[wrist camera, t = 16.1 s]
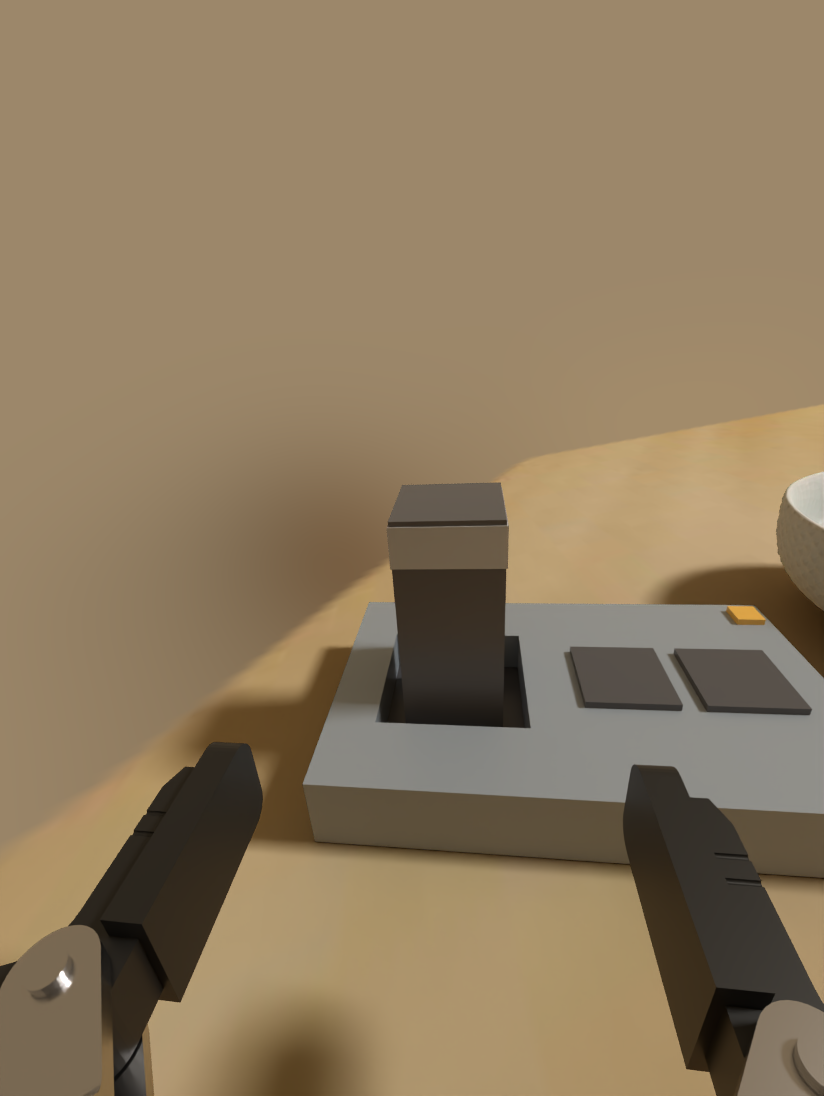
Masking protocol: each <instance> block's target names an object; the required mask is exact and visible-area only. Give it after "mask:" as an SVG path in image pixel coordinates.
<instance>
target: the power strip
mask: <svg viewBox="0 0 824 1096" xmlns="http://www.w3.org/2000/svg"><path fill="white" fill-rule="evenodd" d="M634 764H636V765H656V766H673V767H675V768H676V769H677V770H678V772H679V774H680V776H681V778H682V780H683V782H684V785H685V787H686V789H687V792H688V794H689V796H690V797H693V798H709V799H710V800H711V801H712V803H713V804H714V805H715V806H716V807H717V808H718V809H719V810H720V811H721V812H722V813H723V814H724V815H725V816H726V817H727V819H728V820H729V821H730V822H731V823H732V824H733V825H734V827H735V829H736V831H737V833H738V835H739V837H740V839H741V841H742V843H743V845H744V847H745V849H746V851H747V853H748V858H749V861H752V863H753V866H754V868H755V870H756V872H757V873H762V874H776V875H789V876H803V877H817V878H824V678H823V677H822V676H821V675H820V674H819V673H818V672H817V671H816V670H815V669H814V667H813V666H812V665H811V664H810V663H809V662H808V661H807V660H806V659H805V658H804V657H803V656H802V655H801V654H800V653H799V652H798V651H797V650H796V648H795V647H794V646H793V645H792V644H791V643H790V642H789V641H788V640H787V639H786V638H785V637H784V636H783V635H782V634H781V633H780V632H779V631H778V629H777V628H776V627H775V626H774V625H773V624H772V623H771V622H770V621H769V620H768V619H767V618H766V617H765V616H764V615H763V614H762V613H761V612H760V610H759V609H758V608H757V607H756V606H755V605H666V604H531V603H505V650H504V700H503V727H482V726H457V725H431V724H406V722H405V711H404V699H403V688H402V677H401V665H400V654H399V643H398V631H397V620H396V609H395V602H369V604H368V607H367V610H366V612H365V615H364V618H363V620H362V623H361V626H360V629H359V631H358V634H357V637H356V640H355V642H354V645H353V648H352V651H351V653H350V656H349V659H348V661H347V664H346V667H345V670H344V672H343V675H342V678H341V681H340V683H339V686H338V689H337V691H336V694H335V697H334V700H333V702H332V705H331V708H330V711H329V713H328V716H327V719H326V722H325V724H324V727H323V730H322V732H321V735H320V738H319V741H318V743H317V746H316V749H315V752H314V754H313V757H312V760H311V763H310V765H309V768H308V771H307V773H306V776H305V779H304V782H303V789H304V793H305V798H306V802H307V807H308V812H309V816H310V821H311V825H312V830H313V835H314V839H315V841H316V842H330V843H344V844H358V845H372V846H386V847H400V848H414V849H428V850H442V851H456V852H469V853H483V854H497V855H511V856H525V857H539V858H553V859H567V860H581V861H595V862H609V863H622V864H630V862H629V858H628V855H627V851H626V846H625V841H624V834H623V812H624V806H625V801H626V795H627V789H628V783H629V777H630V771H631V768H632V766H633V765H634Z"/></svg>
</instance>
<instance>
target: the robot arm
mask: <svg viewBox="0 0 824 1096" xmlns="http://www.w3.org/2000/svg"><path fill="white" fill-rule="evenodd" d="M262 800H263V795H262V789H261V785H260V781H259V777H258V774H257V770H256V766H255V762H254V759H253V755H252V751H251V748H250V746H249V745H248V744H244V743H224V742H213V743H211V744H210V745H209V746H208V747H207V748H206V750H205V751H204V753H203V755H202V756H201V758H200V759H199V761H198V763H197V764H196V766H195V767H184V768H183V769H182V770H181V771H180V772H179V773H177V774H176V775H175V776H174V777H173V778H172V779H171V780H170V781H168V782H167V783H166V784H165V785H164V786H163V787H162V788H161V790H160V791H159V793H158V794H157V796H156V797H155V799H154V800H153V802H152V804H151V805H150V807H149V808H148V810H147V814H146V815H144V816H143V817H142V819H141V820H140V822H139V823H138V825H137V826H136V828H135V829H134V833H133V835H130V837H129V838H128V840H127V841H126V843H125V844H124V846H123V847H122V849H121V850H120V852H119V853H118V855H117V856H116V858H115V859H114V861H113V862H112V864H111V865H110V867H109V868H108V870H107V871H106V873H105V874H104V876H103V877H102V879H101V880H100V882H99V883H98V885H97V886H96V888H95V889H94V891H93V892H92V894H91V895H90V897H89V898H88V900H87V901H86V903H85V904H84V906H83V908H82V909H81V911H80V912H79V913H78V915H77V916H76V917H75V919H74V920H73V921H72V922H71V924H70V925H69V926H68V927H64V928H61V929H59V930H57V931H54V932H52V933H51V934H49V935H47V936H45V937H44V938H43V939H41V940H40V941H38V942H37V943H36V944H34V945H33V946H32V947H31V948H30V949H29V950H28V951H27V952H26V953H25V954H24V955H23V956H22V957H21V958H20V959H19V960H18V961H16V962H13V963H10V964H6V965H3V966H0V1096H154V1087H153V1074H152V1061H151V1048H150V1036H149V1028H148V1024H147V1023H148V1021H149V1019H150V1017H151V1015H152V1012H153V1010H154V1008H155V1006H156V1004H157V1002H158V1000H165V1001H173V1002H181V1000H182V997H183V995H184V993H185V990H186V988H187V986H188V983H189V981H190V979H191V977H192V974H193V972H194V970H195V967H196V965H197V963H198V960H199V958H200V956H201V953H202V951H203V949H204V946H205V944H206V942H207V939H208V937H209V935H210V932H211V930H212V928H213V925H214V923H215V921H216V918H217V916H218V914H219V912H220V909H221V907H222V905H223V902H224V900H225V898H226V895H227V893H228V891H229V888H230V886H231V884H232V881H233V879H234V877H235V874H236V872H237V870H238V867H239V865H240V863H241V860H242V858H243V856H244V853H245V851H246V849H247V847H248V844H249V842H250V840H251V837H252V835H253V833H254V830H255V828H256V826H257V823H258V821H259V818H260V814H261V809H262ZM623 834H624V841H625V846H626V851H627V855H628V858H629V862H630V865H631V869H632V873H633V876H634V880H635V884H636V887H637V891H638V895H639V898H640V902H641V905H642V909H643V913H644V916H645V920H646V924H647V927H648V931H649V935H650V938H651V942H652V946H653V949H654V953H655V956H656V960H657V964H658V967H659V971H660V975H661V978H662V982H663V986H664V989H665V993H666V996H667V1000H668V1004H669V1007H670V1011H671V1015H672V1018H673V1022H674V1026H675V1029H676V1033H677V1036H678V1040H679V1044H680V1047H681V1051H682V1055H683V1058H684V1062H685V1066H686V1069H690V1070H697V1071H705V1072H710V1075H711V1079H712V1082H713V1085H714V1089H715V1092H716V1095H717V1096H824V1004H823V1002H822V1001H821V999H820V997H819V996H818V994H817V992H816V990H815V988H814V986H813V984H812V982H811V980H810V978H809V976H808V974H807V972H806V970H805V968H804V966H803V964H802V962H801V960H800V958H799V956H798V954H797V952H796V950H795V948H794V946H793V944H792V942H791V940H790V938H789V936H788V934H787V932H786V930H785V928H784V926H783V924H782V922H781V920H780V918H779V916H778V914H777V912H776V910H775V908H774V906H773V904H772V902H771V900H770V898H769V896H768V894H767V892H766V890H765V888H764V887H762V885H761V880H760V878H759V876H758V874H757V872H756V870H755V868H754V866H753V863H752V861H749V858H748V853H747V851H746V849H745V847H744V845H743V843H742V841H741V839H740V837H739V835H738V833H737V831H736V829H735V827H734V825H733V824H732V823H731V822H730V821H729V820H728V819H727V817H726V816H725V815H724V814H723V813H722V812H721V811H720V810H719V809H718V808H717V807H716V806H715V805H714V804H713V803H712V801H711V800H710V799H709V798H693V797H690V796H689V794H688V792H687V789H686V787H685V785H684V782H683V780H682V778H681V776H680V774H679V772H678V770H677V769H676V768H675V767H673V766H656V765H636V764H634V765H633V766H632V768H631V771H630V777H629V783H628V789H627V795H626V801H625V806H624V812H623Z"/></svg>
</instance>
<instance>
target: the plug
mask: <svg viewBox="0 0 824 1096" xmlns="http://www.w3.org/2000/svg"><path fill="white" fill-rule="evenodd" d="M508 533H509V525H508V520H507V514H506V508H505V503H504V497H503V492H502V487H501V483H470V484H469V483H467V484H432V485H431V484H429V485H402V487H401V490H400V492H399V495H398V497H397V500H396V502H395V505H394V508H393V510H392V513H391V515H390V518H389V520H388V526H387V537H388V549H389V560H390V570H392V575H393V586H394V597H395V609H396V620H397V631H398V643H399V654H400V665H401V677H402V688H403V699H404V711H405V722H406V724H431V725H457V726H482V727H503V700H504V650H505V601H506V569H508Z"/></svg>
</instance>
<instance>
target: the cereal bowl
mask: <svg viewBox="0 0 824 1096" xmlns="http://www.w3.org/2000/svg"><path fill="white" fill-rule="evenodd" d="M776 532H777V533H776V535H777V546H778V554H779V555H780V559H781V562H782V564H783V566H784V568H785V571H786V573H787V574H788V575H789V576H790V578H791V581H792V582H793V583H794V584H796V586H797V587H798V589H799V590H800V591H801V592H802V593H804V595H805V596H806V597H807V598H808V599H809V600H811V601H812V602H813V603H814V604H815V605H816V606H817V607H819V608H820V609H822V610H823V611H824V472H820V473H816V474H813V475H809V476H806V477H804V478H801V479H799V480H797V481H795V482H794V483H792V484H791V485H790V486H789V487H788V488H787V489H786V491H785V493H784V496H783V498H782V503H781V505H780V510H779V518H778V520H777V529H776Z"/></svg>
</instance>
